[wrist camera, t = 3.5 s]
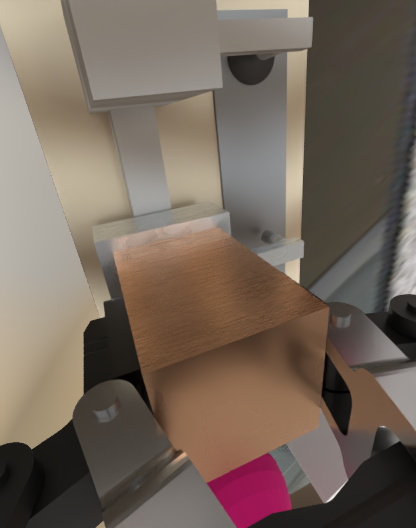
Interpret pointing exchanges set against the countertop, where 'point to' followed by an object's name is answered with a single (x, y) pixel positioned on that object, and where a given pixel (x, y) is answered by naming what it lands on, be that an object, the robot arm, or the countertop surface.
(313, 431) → the white cube
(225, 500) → the pepper mill
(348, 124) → the countertop surface
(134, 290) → the slider
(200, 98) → the board
